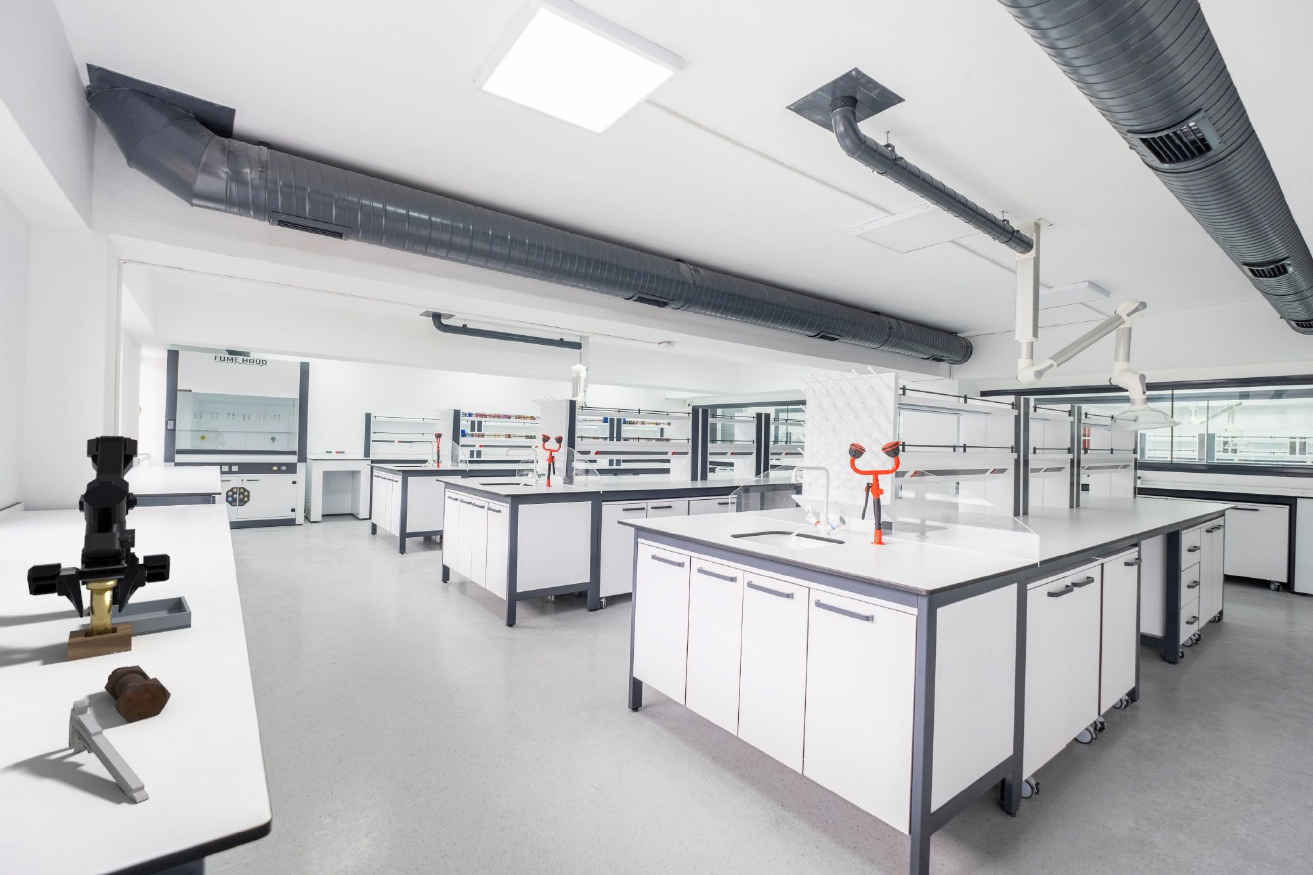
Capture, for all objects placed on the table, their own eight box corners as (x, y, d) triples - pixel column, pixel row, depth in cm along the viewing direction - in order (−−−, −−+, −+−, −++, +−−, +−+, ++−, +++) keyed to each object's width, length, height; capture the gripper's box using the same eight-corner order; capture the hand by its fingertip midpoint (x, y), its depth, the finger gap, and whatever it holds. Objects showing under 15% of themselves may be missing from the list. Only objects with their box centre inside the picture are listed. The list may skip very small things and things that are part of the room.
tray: (101, 621, 119) (101, 607, 119) (183, 609, 127) (184, 596, 127) (100, 641, 108) (101, 625, 108) (190, 627, 116) (191, 611, 116)
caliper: (67, 750, 72) (68, 699, 72) (79, 746, 73) (80, 695, 73) (136, 806, 61) (138, 746, 61) (150, 800, 62) (151, 741, 62)
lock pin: (85, 648, 104) (86, 581, 104) (115, 643, 107) (117, 577, 107) (84, 655, 101) (85, 585, 101) (115, 649, 104) (117, 581, 104)
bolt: (127, 699, 89) (151, 728, 80) (88, 692, 86) (107, 721, 76) (152, 660, 92) (178, 684, 82) (115, 652, 88) (137, 675, 79)
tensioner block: (69, 648, 104) (69, 631, 104) (130, 638, 110) (130, 622, 110) (67, 661, 98) (67, 643, 98) (131, 650, 104) (131, 633, 104)
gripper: (29, 518, 101) (18, 597, 92) (170, 511, 113) (171, 580, 105) (35, 557, 107) (24, 633, 98) (168, 546, 119) (169, 613, 111)
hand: (100, 613), depth 103 cm, fingers open, 5 cm apart
